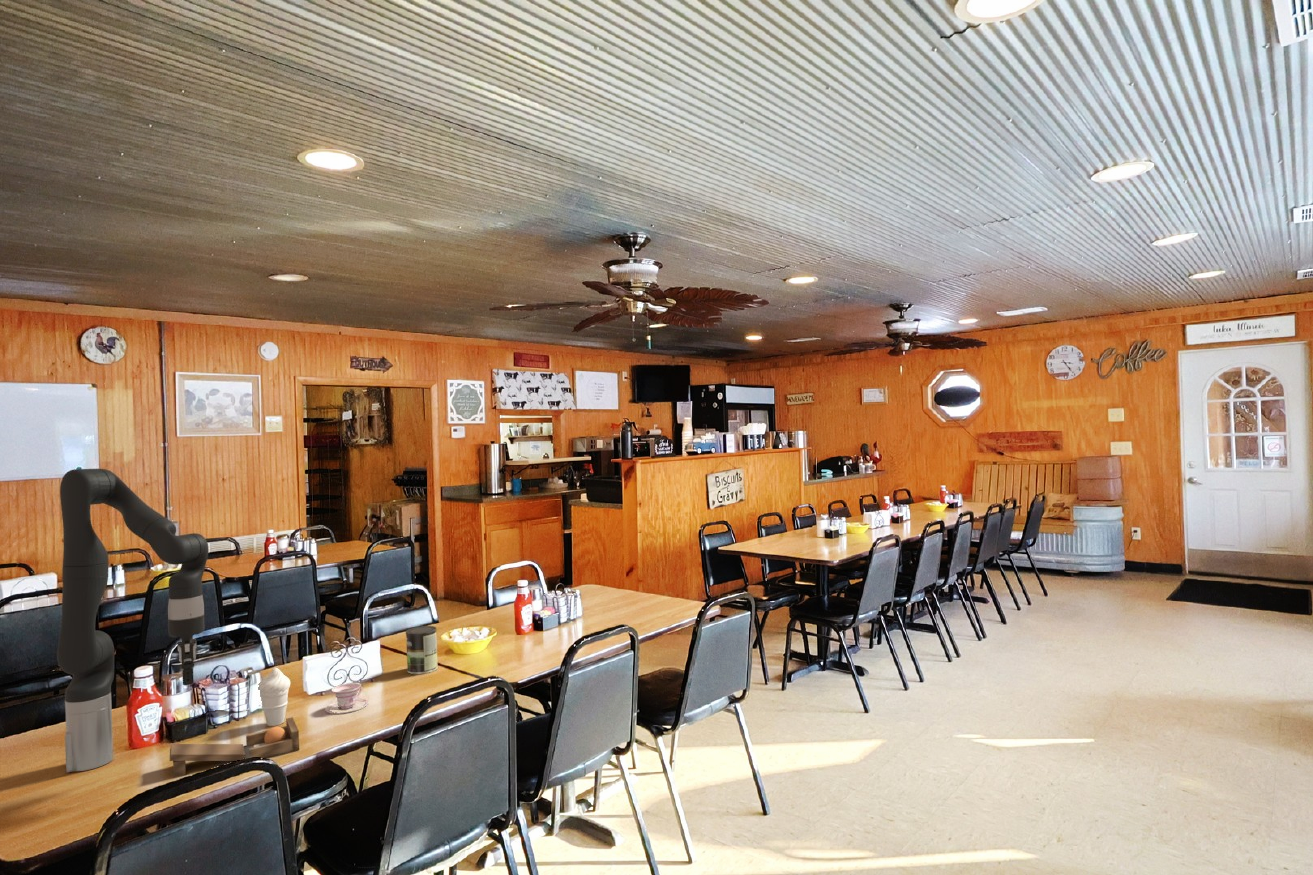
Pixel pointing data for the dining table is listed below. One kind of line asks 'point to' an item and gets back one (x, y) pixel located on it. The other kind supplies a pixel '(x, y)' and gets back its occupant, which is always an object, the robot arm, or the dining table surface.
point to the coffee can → (421, 650)
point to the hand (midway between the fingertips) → (188, 679)
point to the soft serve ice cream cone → (274, 696)
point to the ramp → (203, 754)
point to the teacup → (346, 698)
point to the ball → (275, 735)
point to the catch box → (261, 749)
